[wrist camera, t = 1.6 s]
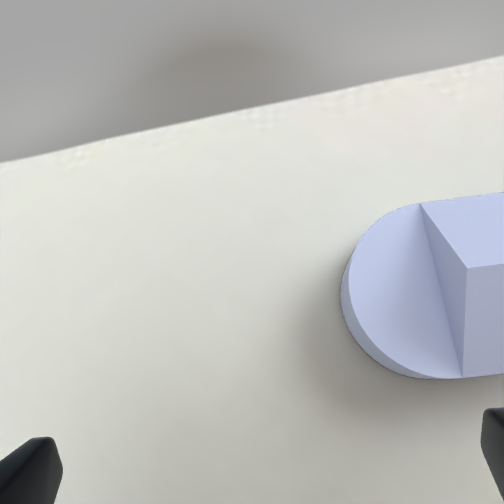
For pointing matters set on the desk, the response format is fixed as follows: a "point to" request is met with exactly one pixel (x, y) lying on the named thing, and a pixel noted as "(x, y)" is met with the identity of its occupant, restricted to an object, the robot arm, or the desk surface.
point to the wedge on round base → (431, 289)
